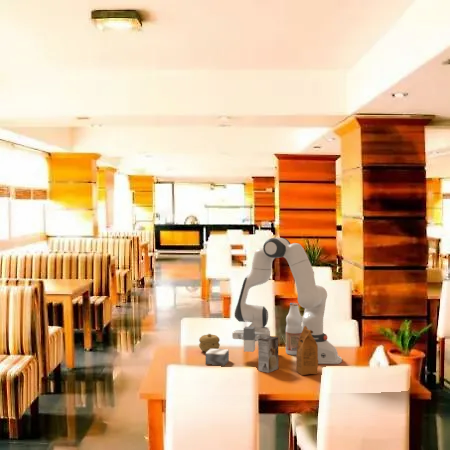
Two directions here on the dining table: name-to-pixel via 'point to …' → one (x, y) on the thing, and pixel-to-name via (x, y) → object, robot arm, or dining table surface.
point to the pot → (209, 342)
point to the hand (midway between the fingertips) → (249, 338)
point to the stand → (217, 356)
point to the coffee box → (268, 353)
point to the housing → (249, 339)
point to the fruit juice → (293, 329)
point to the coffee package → (307, 353)
